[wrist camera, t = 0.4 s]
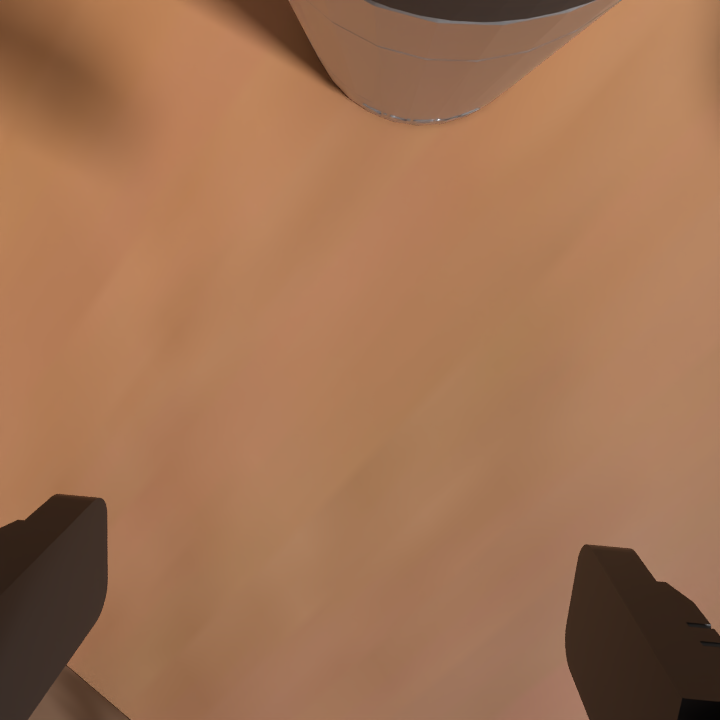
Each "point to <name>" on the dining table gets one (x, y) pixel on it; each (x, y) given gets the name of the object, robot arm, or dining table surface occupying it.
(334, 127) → the dining table surface
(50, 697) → the walnut pillar
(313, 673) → the dining table surface
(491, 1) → the robot arm
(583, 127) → the dining table surface
